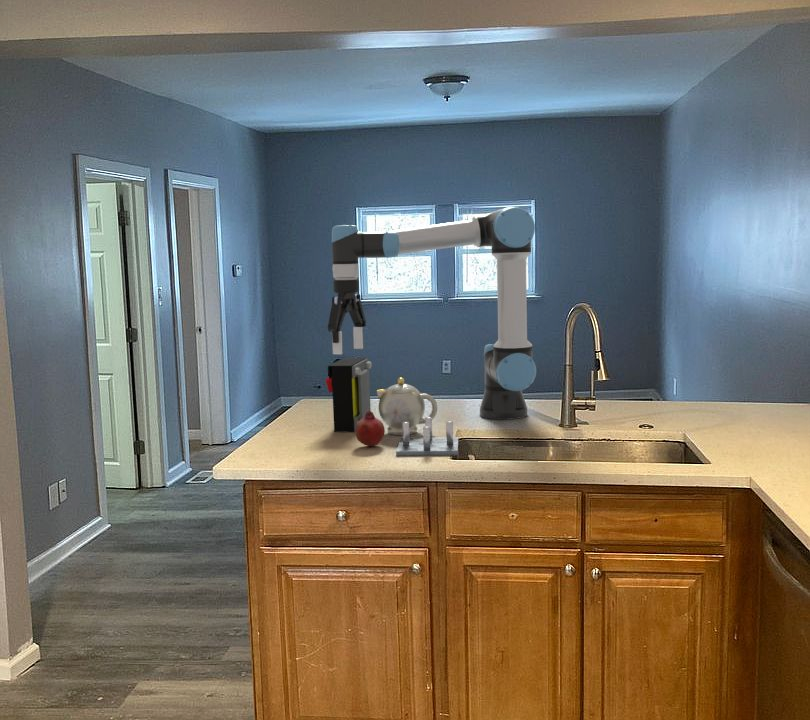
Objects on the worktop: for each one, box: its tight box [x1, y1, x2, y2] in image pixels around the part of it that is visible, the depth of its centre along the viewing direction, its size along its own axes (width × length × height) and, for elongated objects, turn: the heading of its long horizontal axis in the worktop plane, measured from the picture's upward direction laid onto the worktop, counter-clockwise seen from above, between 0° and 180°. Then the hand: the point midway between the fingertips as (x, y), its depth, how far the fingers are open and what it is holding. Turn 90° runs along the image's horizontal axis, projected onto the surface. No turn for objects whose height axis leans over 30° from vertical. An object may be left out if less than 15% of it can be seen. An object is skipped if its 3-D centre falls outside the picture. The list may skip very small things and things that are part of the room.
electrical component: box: [325, 357, 374, 433], centre depth 260 cm, size 18×10×20 cm, turn 168°
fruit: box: [355, 410, 386, 448], centre depth 232 cm, size 8×8×10 cm
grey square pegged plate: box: [395, 416, 459, 457], centre depth 228 cm, size 16×16×7 cm
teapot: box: [376, 377, 438, 436], centre depth 248 cm, size 18×14×16 cm
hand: (348, 351), depth 249 cm, fingers open, 13 cm apart
